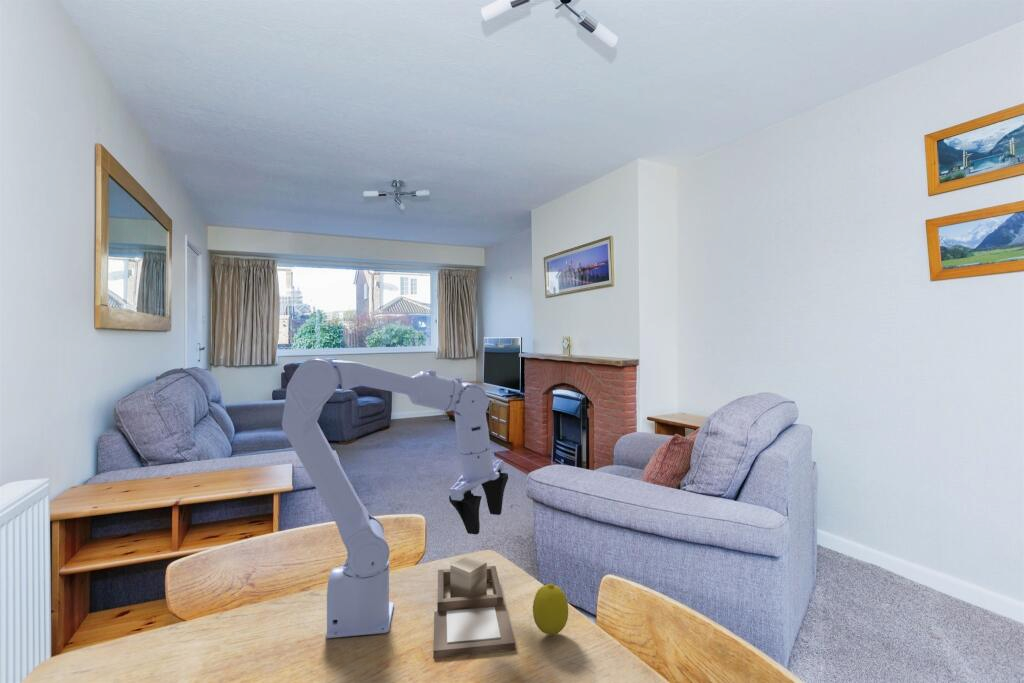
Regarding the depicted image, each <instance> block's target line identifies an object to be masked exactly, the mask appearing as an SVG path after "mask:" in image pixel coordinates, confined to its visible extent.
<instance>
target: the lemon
mask: <svg viewBox="0 0 1024 683" xmlns="http://www.w3.org/2000/svg"><path fill="white" fill-rule="evenodd" d="M532 615H533V616H532V617H533V621H534V623H535V625H536V626H537V628H538V629H539V630H540V631H541V632H542V633H543V634H545V635H548V636H549V637H552V636H554V635H556V634H558V633H561V632H562V631H563V630H564V628H565V626H566V625H567V623H568V619H569V603H568V600H567V596H566V594H565V593H564V591H563V590H562V589H561V587H559V586H558V585H555V584H553V583H548V584H545V585H542V586H541V587H540V588H539V589H538V590H537V592H535V596H534V599H533V604H532Z"/></svg>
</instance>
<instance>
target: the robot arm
mask: <svg viewBox="0 0 1024 683" xmlns="http://www.w3.org/2000/svg"><path fill="white" fill-rule="evenodd" d="M331 360H332V361H330V360H329V359H326V358H324V357H311V358H309V359H307V360H305V361H304V362H302V363H301V364H300V365H299V366H298V367H297V368H296V370H295V371H294V372H293V375H292V377H291V378H290V380H289V382H288V383H287V387H286V391H285V392H286V394H285V395H286V396H285V401H284V407H283V408H284V409H283V414H282V420H281V427H282V430H283V432H284V434H285V437H286V438H287V440H288V441H289V443H290V445H291V446H292V448H293V450H294V452H295V453H296V455H297V457H298V459H299V461H300V463H301V464H302V465H303V467H304V468H303V469H305V472H306V473H307V475H308V477H309V478H310V480H311V482H312V484H313V485H314V487H315V489H316V491H317V492H318V495H319V497H320V498H321V499H322V501H323V503H324V505H325V507H326V508H327V509H328V512H329V514H330V515H331V517H332V519H333V521H334V522H335V525H336V527H337V529H338V533H339V535H340V538H341V541H342V543H343V545H344V547H345V548H346V552H347V554H346V556H347V557H346V560H345V562H343V565H342V566H338V567H333V568H332V569H331V570H330V572H329V578H328V580H327V591H326V632H325V638H326V639H333V638H342V637H343V638H344V637H354V636H364V635H365V636H366V635H376V634H378V635H379V634H387V633H388V632H389V631H390V628H391V623H392V616H393V612H394V611H393V610H394V602H392V601H390V559H389V558H390V547H389V544H388V542H387V540H386V537H385V534H384V533H385V531H384V527H383V524H382V522H381V520H379V519H378V518H377V517H374V516H372V515H371V514H370V512H369V511H368V509H367V507H366V506H365V505H364V504H363V503H362V501H361V499H360V497H359V496H358V494H357V492H356V490H355V489H354V486H353V484H352V483H351V481H350V480H349V478H348V476H347V474H346V472H345V470H344V469H343V466H342V464H341V462H340V461H339V459H338V457H337V456H336V454H335V452H334V450H333V449H332V447H331V445H330V443H329V441H328V440H327V438H326V436H325V434H324V432H323V430H322V429H321V427H320V424H319V423H318V421H319V418H320V415H321V414H322V411H323V407H324V405H325V404H326V403H327V401H328V400H329V399H330V398H331V397H332V396H333V394H334V393H335V391H337V389H338V386H339V385H340V387H341V388H340V389H341V391H342V392H344V391H347V390H350V389H354V388H356V387H366V388H372V389H376V390H383V391H387V392H393V393H398V394H403V395H406V396H408V398H409V400H410V402H411V404H412V405H417V406H421V407H425V408H431V409H434V410H439V411H442V412H443V411H444V412H450V411H453V414H454V422H455V433H456V440H457V447H458V455H459V461H460V469H461V475H460V477H459V478H458V480H457V481H456V482H455V484H454V485H453V486H452V487H450V488H449V493H450V495H449V496H448V500H449V503H450V505H452V506H453V508H454V509H455V510H456V511H457V513H458V515H459V516H460V517H459V518H460V519H461V522H462V523H463V525H464V528H465V530H466V533H467V534H469V535H475V536H476V535H478V534H480V527H481V525H480V506H481V501H482V496H481V495H474V493H472V491H473V490H474V489H476V488H478V487H479V486H480V485H481V486H482V489H483V492H484V496H485V498H486V504H487V508H488V511H489V514H490V515H495V516H500V515H501V514H502V510H503V500H504V493H505V489H506V486H507V482H508V481H509V474H508V473H507V472H503V471H504V470H505V468H504V460H503V459H493V456H492V446H491V442H490V441H491V439H490V432H489V426H488V425H489V424H488V419H487V413H486V412H487V410H488V408H489V406H490V405H489V404H490V397H488V395H487V393H486V391H485V390H484V389H483V388H482V387H481V386H479V385H477V384H474V383H472V382H467V381H465V380H463V379H462V378H460V377H457V376H456V377H455V378H450V377H446V376H442V375H438V374H437V371H436V370H432V369H427V371H422V370H421V371H419V372H416V374H414V375H411V376H410V375H406V374H402V373H398V372H395V371H391V370H387V369H384V368H380V367H377V366H373V365H368V364H365V363H361V362H357V361H351V360H341V359H331Z"/></svg>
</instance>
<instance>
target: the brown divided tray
mask: <svg viewBox="0 0 1024 683" xmlns="http://www.w3.org/2000/svg"><path fill="white" fill-rule="evenodd" d="M487 581H491V582H490V584H492V585H491V589H493V590H492V594H487V595H481V596H468V597H456V598H450V597H446V598H444V586H450V568H443V569H437V600H436V601H437V602H436V604H437V608H436V610H437V611H434V612H433V615H434V616H433V644H432V645H433V649H432V650H433V651H432V652H433V653H432V656H433V657H432V658H442V657H453V656H462V655H464V656H465V655H473V654H474V655H475V654H484V653H493V652H504V651H513V650H516V641H515V636H514V633H513V628H512V625H511V622H510V621H511V620H510V617H509V613H508V609H507V608H508V607H507V605H504V596H503V590H502V587H501V583H500V579H499V574H498V571H497V566H496V565H490V566H489V565H487Z"/></svg>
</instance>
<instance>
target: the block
mask: <svg viewBox="0 0 1024 683" xmlns="http://www.w3.org/2000/svg"><path fill="white" fill-rule="evenodd" d="M487 566H488V562H487V561H484V560H481V559H479V558H476V557H473V556H470V555H466V556H463V557H462V558H461V559H458V560H457V561H455V562H454V563H452V564H450V567H449V569H450V585H449V586H450V589H449V590H450V592H449V593H450V594H449V595H450V596H449V598H456V597H468V596H481V595H488V593H487V592H488V591H487V590H488V586H487V584H488V582H487Z"/></svg>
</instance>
